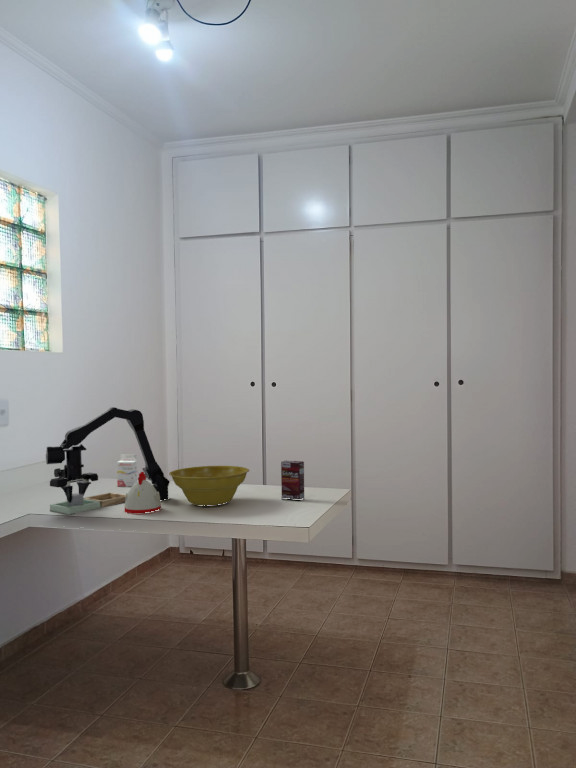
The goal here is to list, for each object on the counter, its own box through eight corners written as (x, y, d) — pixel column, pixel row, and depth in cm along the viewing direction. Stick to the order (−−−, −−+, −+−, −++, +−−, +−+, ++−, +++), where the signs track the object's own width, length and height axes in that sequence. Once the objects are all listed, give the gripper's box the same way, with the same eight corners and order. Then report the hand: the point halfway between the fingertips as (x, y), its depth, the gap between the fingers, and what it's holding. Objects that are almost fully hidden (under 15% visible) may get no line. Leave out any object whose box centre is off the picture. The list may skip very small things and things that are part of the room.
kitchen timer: (119, 514, 252) (118, 475, 252) (130, 506, 266) (129, 469, 265) (156, 514, 251) (155, 474, 251) (164, 506, 265) (163, 469, 265)
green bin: (100, 508, 264) (100, 501, 264) (69, 514, 253) (69, 508, 253) (80, 504, 272) (80, 498, 272) (50, 510, 261) (49, 504, 260)
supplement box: (281, 500, 273) (280, 461, 272) (286, 498, 277) (285, 460, 276) (299, 501, 269) (299, 462, 268) (305, 499, 273) (304, 461, 272)
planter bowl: (164, 499, 278) (163, 468, 278) (238, 493, 289) (237, 462, 288) (177, 515, 248) (176, 479, 247) (259, 507, 258) (259, 473, 258)
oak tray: (130, 501, 276) (130, 495, 276) (102, 507, 264) (102, 501, 264) (110, 498, 284) (110, 492, 283) (82, 504, 272) (82, 498, 272)
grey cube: (83, 504, 263) (83, 494, 262) (73, 506, 259) (73, 496, 259) (76, 503, 265) (76, 493, 265) (66, 505, 262) (66, 495, 262)
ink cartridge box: (116, 486, 312) (116, 455, 311) (120, 484, 317) (119, 454, 316) (134, 486, 311) (133, 455, 311) (138, 484, 316) (137, 454, 315)
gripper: (81, 457, 274) (83, 495, 274) (41, 463, 259) (42, 503, 260) (98, 459, 267) (99, 498, 268) (57, 465, 252) (58, 506, 253)
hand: (75, 501), depth 262 cm, fingers closed on grey cube, 4 cm apart
